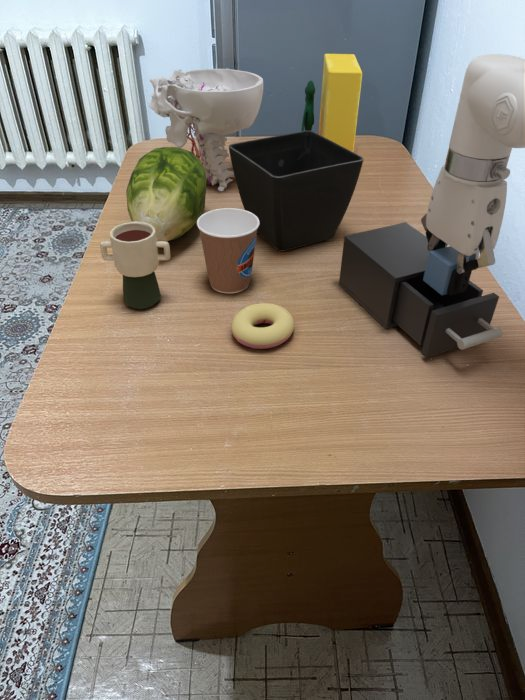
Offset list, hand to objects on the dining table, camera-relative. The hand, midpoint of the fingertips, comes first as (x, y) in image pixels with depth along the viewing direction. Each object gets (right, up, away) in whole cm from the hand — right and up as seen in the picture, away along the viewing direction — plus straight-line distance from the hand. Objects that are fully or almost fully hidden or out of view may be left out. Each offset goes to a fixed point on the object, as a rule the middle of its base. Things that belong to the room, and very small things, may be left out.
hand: (444, 282), depth 84 cm
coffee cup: (-33, +2, +16) cm, 37 cm away
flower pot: (-21, +14, +32) cm, 41 cm away
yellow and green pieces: (-12, +37, +60) cm, 72 cm away
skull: (-40, +30, +51) cm, 71 cm away
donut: (-27, -8, +5) cm, 29 cm away
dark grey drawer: (0, -7, +5) cm, 8 cm away
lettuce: (-46, +13, +31) cm, 57 cm away
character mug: (-47, -2, +12) cm, 49 cm away
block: (0, 0, 0) cm, 0 cm away
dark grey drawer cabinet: (-5, -1, +14) cm, 14 cm away
